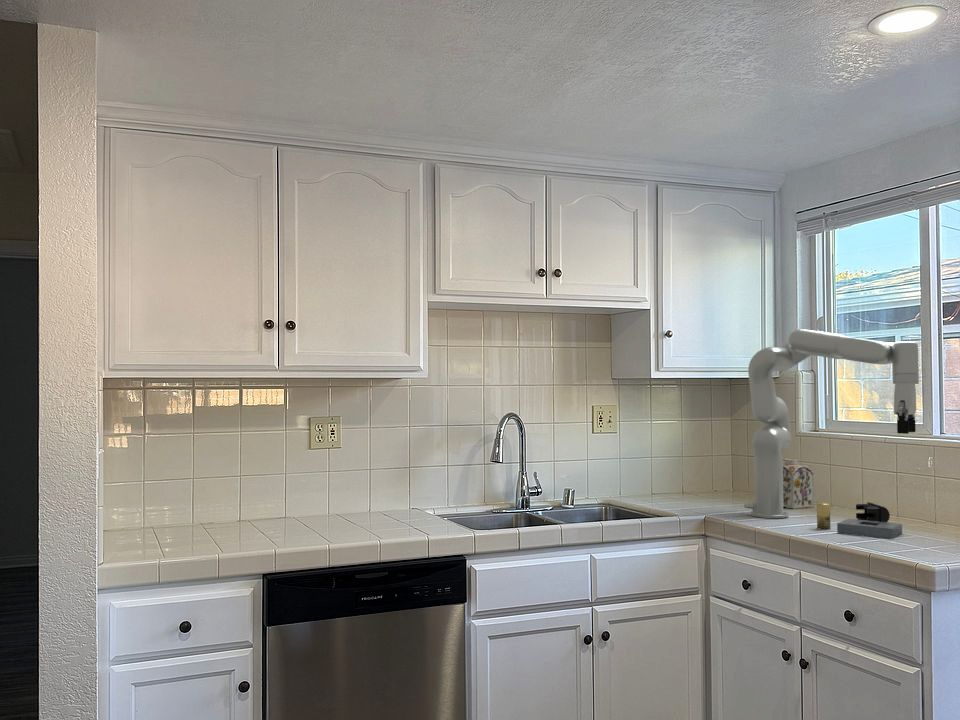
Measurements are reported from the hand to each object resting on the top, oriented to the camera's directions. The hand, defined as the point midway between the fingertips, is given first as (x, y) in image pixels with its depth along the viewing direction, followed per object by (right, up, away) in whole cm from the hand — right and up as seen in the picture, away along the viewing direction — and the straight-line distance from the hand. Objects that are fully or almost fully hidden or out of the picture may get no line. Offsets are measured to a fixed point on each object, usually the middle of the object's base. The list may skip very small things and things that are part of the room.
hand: (906, 432), depth 270 cm
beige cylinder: (-26, -31, +2) cm, 41 cm away
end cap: (-6, -32, +11) cm, 34 cm away
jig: (-15, -31, -7) cm, 35 cm away
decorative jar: (-18, -33, +51) cm, 64 cm away
